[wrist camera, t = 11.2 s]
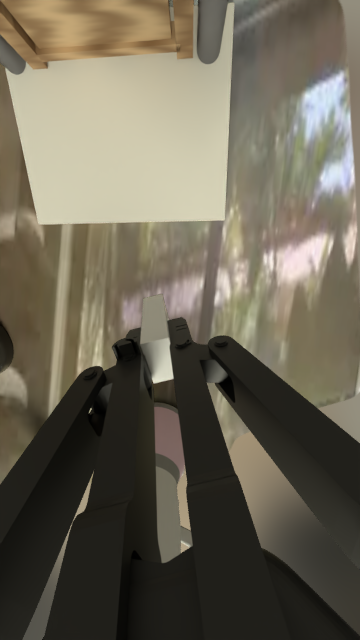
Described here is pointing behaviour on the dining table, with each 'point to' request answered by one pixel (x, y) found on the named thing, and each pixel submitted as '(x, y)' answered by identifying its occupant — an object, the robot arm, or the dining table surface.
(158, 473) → the blender
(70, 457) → the robot arm
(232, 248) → the dining table surface
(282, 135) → the dining table surface
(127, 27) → the gate
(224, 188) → the gate frame
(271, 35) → the dining table surface
